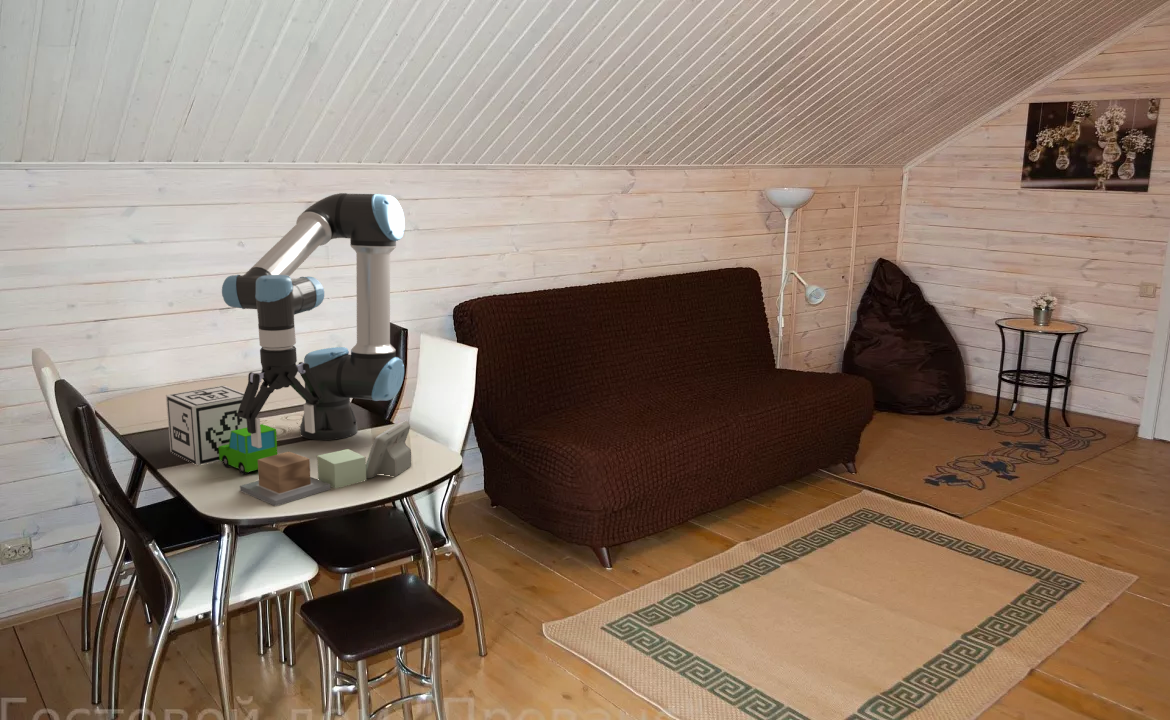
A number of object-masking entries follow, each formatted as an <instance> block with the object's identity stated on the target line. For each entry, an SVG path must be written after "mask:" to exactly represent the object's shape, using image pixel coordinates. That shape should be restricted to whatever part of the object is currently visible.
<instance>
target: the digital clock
mask: <svg viewBox="0 0 1170 720" xmlns="http://www.w3.org/2000/svg"><path fill="white" fill-rule="evenodd" d="M410 430H411V424H410V422H409V421H407V420H404V421H400V422H398V423H396V424H395V425H393V426H391V427H390V428H387V430H385V431H383V432H382V433H380V434H378V435H377V436H376V437H375V438H374V439H373V442H372V445H371V448H370V451H369V454H368V456H367V459H366V479H372V478H374V477H376V476H378V475H377V474H384V475H390V476H396V477H397V476H399V475H400V474H401V473H403V472H405V471H406V470H407V469H409V468H410V467H411V466H412V449H411V448H410V447H409V446H408V445H407V443H406V440H407V438H408V435H409V432H410ZM405 469H406V470H405ZM402 471H403V472H402ZM398 474H399V475H398Z"/></svg>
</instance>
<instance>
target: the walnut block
mask: <svg viewBox="0 0 1170 720" xmlns="http://www.w3.org/2000/svg"><path fill="white" fill-rule="evenodd" d="M310 462H311V461H310V458H308V457H306V456H303V455H300V454H297V453H295V452H292V451H286V452H281V453H277V455H273V456H270V457H266V458H262V459H258V470H257V471H258V472H257V473H258V481H259V485H260V486H263V487H265V488H267V489H270V490H272V491H275V492H277V493H283V492H286V491H289V490H293V489H296V488H299V487H303V486H306V485H309V484H311V479H310V477H311V465H310V464H311V463H310Z"/></svg>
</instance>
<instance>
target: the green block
mask: <svg viewBox="0 0 1170 720" xmlns="http://www.w3.org/2000/svg"><path fill="white" fill-rule="evenodd" d="M316 458H317V464H316V465H317V479H319V480H320V481H323V482H326V483H328V484H330V488H333V489H340V488H344V487H348V486H351V484H352V485H355V484H354V483H356V484H358V483H357V482H360V483H362V482H361V481H364V480H366V481H367V478H366V463H367V458H366V456H364V455H362V454H360V453H358V452H355V451H353V450H351V449H349V448H347V449H343V450H337V451H333V452H328V453H324V454H319V455H316ZM364 482H365V481H364ZM347 485H348V486H347ZM339 487H340V488H339Z"/></svg>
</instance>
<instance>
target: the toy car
mask: <svg viewBox="0 0 1170 720" xmlns="http://www.w3.org/2000/svg"><path fill="white" fill-rule="evenodd" d="M260 429H261V443H262V447H261V448H257V447H254V446H252V442H251V433H248V431H247V428H242V429H238V430H233V431H231V435H230V441H229V444H227V445H223V446H219V460H220V461H219V462H222V464H223V466H224V467H225V468H230V467H231V468H232V467H234V468H236V469H238V470H239V472H240V475H241V474H242V475H247V474H249V472H252V471H253V472H254V471H258V459H262V458H266V457H270V456H273V455H277V454H278V441H277V439H278V438H277V437H278V436H277V428H274V427H272V426H268V425H266V424H263V423H262V424H261V423H260Z"/></svg>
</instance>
